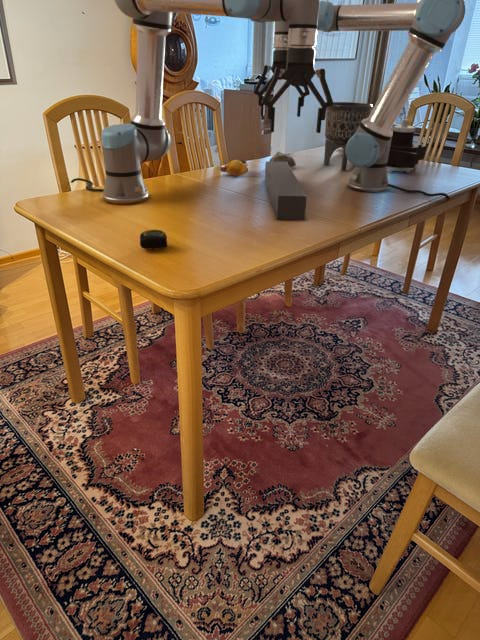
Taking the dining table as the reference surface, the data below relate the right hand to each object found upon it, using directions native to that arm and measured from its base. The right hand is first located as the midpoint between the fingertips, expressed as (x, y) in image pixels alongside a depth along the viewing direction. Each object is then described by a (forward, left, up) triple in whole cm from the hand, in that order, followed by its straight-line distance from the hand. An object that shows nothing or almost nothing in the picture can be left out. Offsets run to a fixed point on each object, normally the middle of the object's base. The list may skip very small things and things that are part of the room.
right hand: (280, 116), depth 168 cm
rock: (-3, -29, -25) cm, 38 cm away
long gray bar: (-2, +20, -25) cm, 32 cm away
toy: (+17, -14, -25) cm, 33 cm away
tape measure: (+31, +75, -25) cm, 85 cm away
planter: (-30, -37, -25) cm, 54 cm away
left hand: (-4, +41, 0) cm, 41 cm away
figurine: (-36, -69, -25) cm, 82 cm away
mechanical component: (-58, -38, -25) cm, 74 cm away
